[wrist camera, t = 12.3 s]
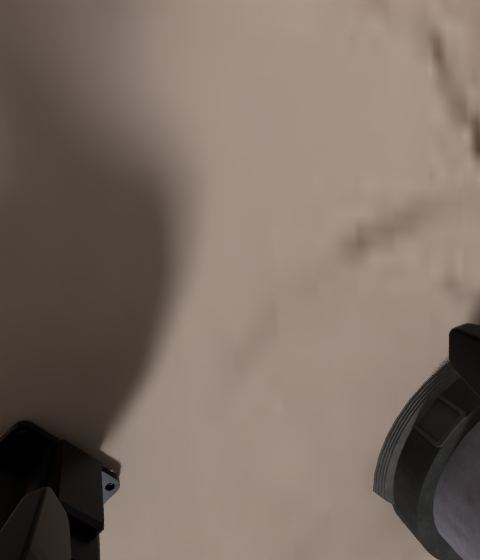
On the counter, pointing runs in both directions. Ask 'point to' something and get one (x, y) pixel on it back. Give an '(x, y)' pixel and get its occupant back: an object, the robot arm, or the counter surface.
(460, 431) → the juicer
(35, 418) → the counter surface
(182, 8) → the counter surface
